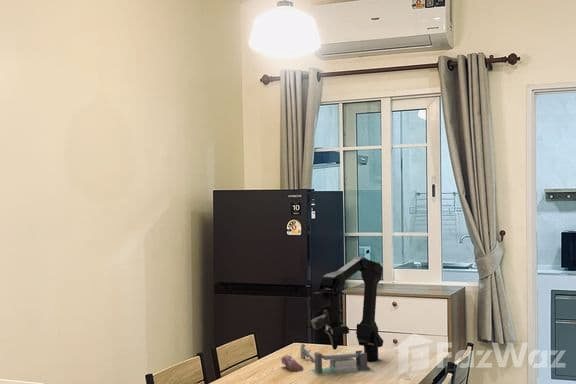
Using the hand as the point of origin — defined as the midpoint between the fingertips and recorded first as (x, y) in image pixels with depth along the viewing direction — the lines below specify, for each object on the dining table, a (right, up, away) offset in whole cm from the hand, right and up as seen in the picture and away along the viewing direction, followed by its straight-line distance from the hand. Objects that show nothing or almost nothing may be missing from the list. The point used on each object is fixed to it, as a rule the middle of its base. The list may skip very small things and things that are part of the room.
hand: (334, 349), depth 254 cm
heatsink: (+3, -8, 0) cm, 8 cm away
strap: (+3, -4, +1) cm, 5 cm away
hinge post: (+11, -8, +2) cm, 13 cm away
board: (+3, -8, 0) cm, 9 cm away
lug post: (-6, -8, -2) cm, 10 cm away
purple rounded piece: (-16, -10, +5) cm, 19 cm away
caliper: (-8, -10, +18) cm, 22 cm away
